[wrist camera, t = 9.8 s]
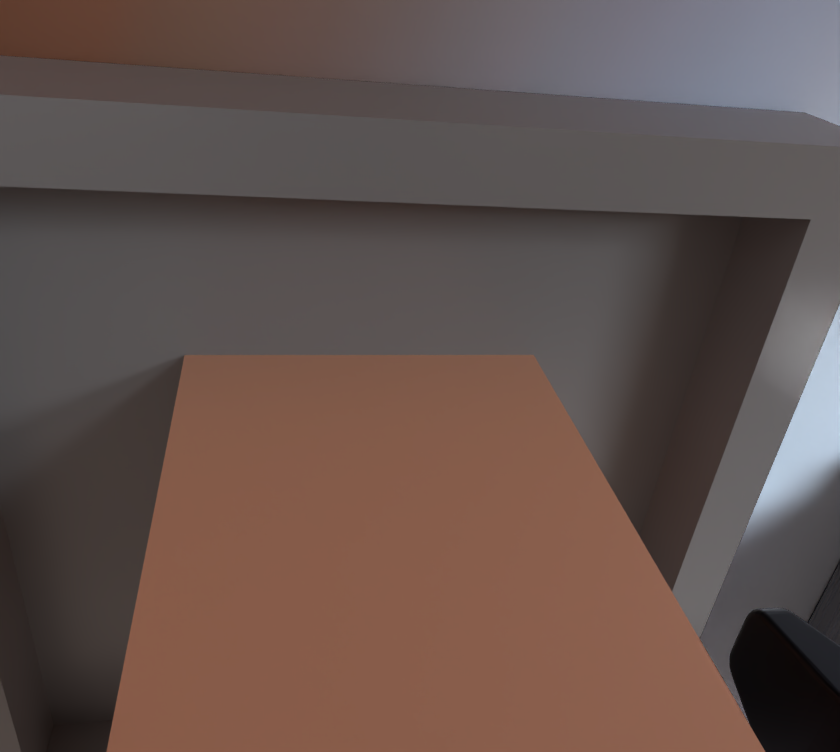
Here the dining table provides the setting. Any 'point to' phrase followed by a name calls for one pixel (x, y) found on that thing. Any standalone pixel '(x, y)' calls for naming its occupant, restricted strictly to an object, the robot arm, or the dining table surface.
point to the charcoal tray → (379, 304)
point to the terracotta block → (401, 573)
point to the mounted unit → (829, 610)
